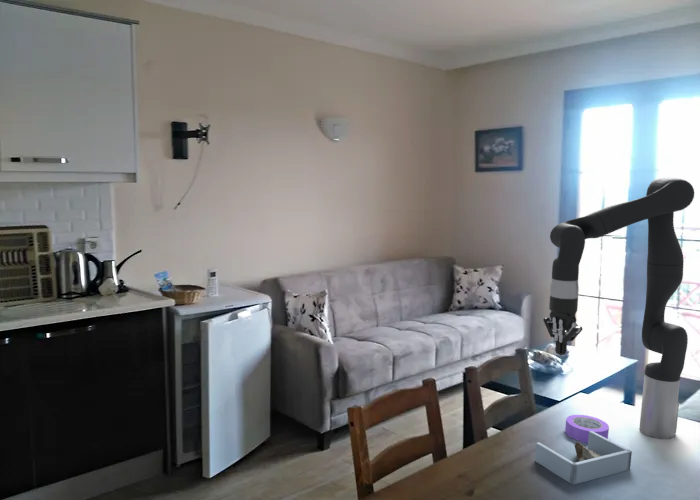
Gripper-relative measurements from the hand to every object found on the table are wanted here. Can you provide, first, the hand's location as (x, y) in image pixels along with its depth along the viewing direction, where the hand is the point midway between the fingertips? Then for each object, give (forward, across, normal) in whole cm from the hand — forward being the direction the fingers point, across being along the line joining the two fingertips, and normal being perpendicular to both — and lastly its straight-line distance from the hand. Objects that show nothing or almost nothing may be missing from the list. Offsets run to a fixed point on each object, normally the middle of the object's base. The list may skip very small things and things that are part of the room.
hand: (560, 353), depth 168 cm
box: (+24, -17, +8) cm, 30 cm away
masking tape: (+25, -3, -8) cm, 27 cm away
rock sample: (+25, -16, +4) cm, 30 cm away
